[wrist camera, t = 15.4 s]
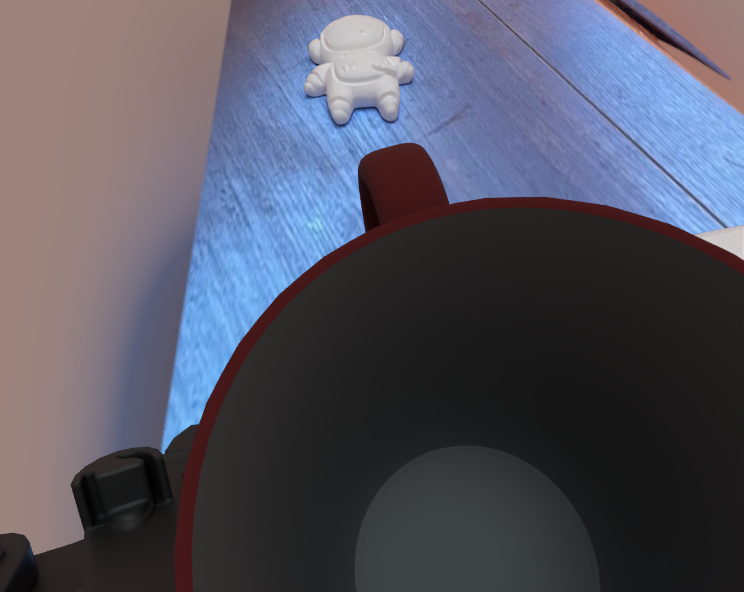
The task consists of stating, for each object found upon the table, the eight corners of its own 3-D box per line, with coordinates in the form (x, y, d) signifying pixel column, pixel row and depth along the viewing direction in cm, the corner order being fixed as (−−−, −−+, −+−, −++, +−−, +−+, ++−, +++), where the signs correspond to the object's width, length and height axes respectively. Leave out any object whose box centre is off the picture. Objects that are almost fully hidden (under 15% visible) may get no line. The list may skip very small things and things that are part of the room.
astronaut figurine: (301, 130, 42) (294, 97, 39) (312, 33, 48) (306, -1, 45) (416, 124, 41) (416, 91, 38) (412, 27, 47) (411, -7, 44)
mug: (280, 376, 19) (144, 144, 10) (514, 310, 20) (595, 31, 11) (366, 815, 13) (219, 1306, 4) (701, 701, 14) (1301, 875, 4)
